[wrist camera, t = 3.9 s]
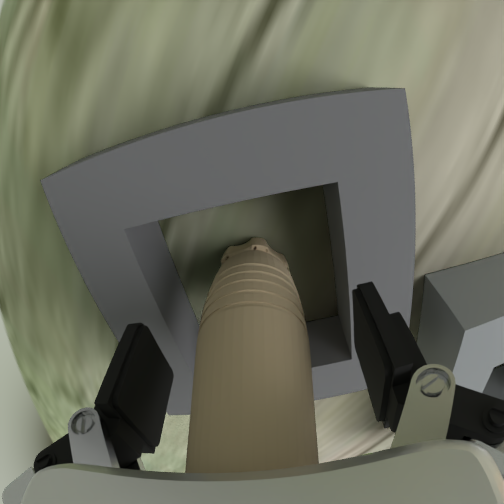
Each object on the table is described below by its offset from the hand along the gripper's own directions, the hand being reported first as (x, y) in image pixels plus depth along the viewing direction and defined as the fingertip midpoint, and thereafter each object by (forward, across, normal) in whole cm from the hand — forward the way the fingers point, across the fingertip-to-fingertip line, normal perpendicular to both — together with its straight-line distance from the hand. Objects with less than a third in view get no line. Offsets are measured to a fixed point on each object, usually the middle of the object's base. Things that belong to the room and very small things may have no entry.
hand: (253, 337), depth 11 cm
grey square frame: (+5, 0, 0) cm, 5 cm away
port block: (+5, -17, +12) cm, 21 cm away
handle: (+6, 0, 0) cm, 6 cm away
